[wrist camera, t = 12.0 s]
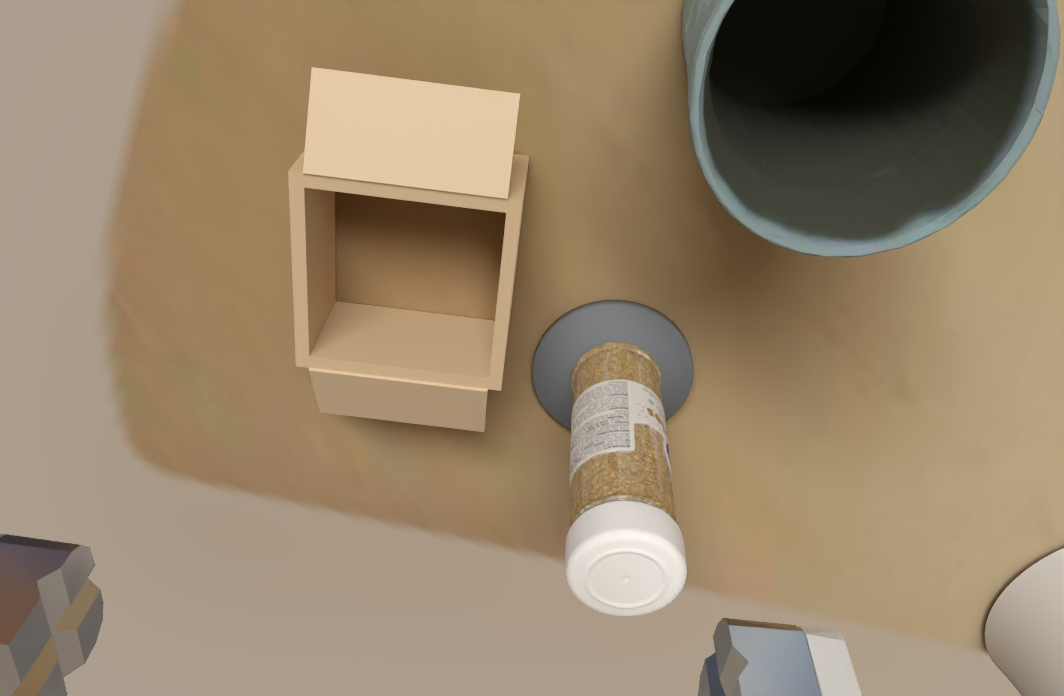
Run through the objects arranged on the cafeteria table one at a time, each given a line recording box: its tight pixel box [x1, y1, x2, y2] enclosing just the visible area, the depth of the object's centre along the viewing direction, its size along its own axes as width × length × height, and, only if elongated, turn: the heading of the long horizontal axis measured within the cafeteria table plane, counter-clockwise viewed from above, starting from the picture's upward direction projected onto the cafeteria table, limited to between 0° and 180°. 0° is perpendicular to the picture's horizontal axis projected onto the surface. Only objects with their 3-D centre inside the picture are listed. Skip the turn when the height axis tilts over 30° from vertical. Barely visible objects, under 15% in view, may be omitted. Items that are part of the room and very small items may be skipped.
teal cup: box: [682, 0, 1060, 257], centre depth 29 cm, size 10×10×12 cm
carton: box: [288, 67, 529, 432], centre depth 38 cm, size 9×17×5 cm, turn 173°
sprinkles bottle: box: [565, 342, 687, 616], centre depth 38 cm, size 5×5×14 cm
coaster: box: [533, 300, 693, 429], centre depth 44 cm, size 8×8×1 cm
